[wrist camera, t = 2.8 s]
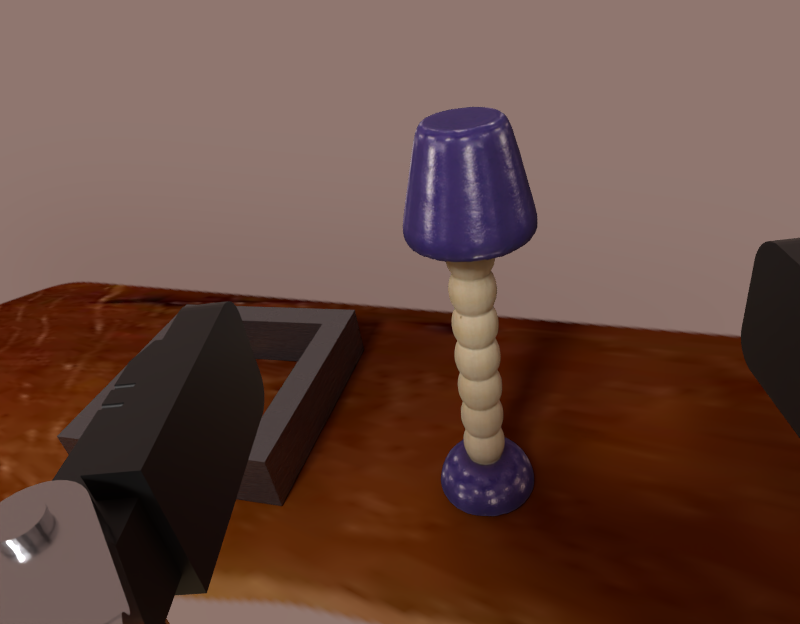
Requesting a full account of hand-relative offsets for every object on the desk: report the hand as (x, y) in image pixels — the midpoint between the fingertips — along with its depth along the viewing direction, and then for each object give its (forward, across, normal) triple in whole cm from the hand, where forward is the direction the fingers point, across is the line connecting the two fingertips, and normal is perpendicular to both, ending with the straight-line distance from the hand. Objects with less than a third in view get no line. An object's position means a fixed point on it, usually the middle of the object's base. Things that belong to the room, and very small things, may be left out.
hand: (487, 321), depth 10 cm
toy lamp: (+12, 0, +17) cm, 20 cm away
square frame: (+18, +14, +17) cm, 28 cm away
